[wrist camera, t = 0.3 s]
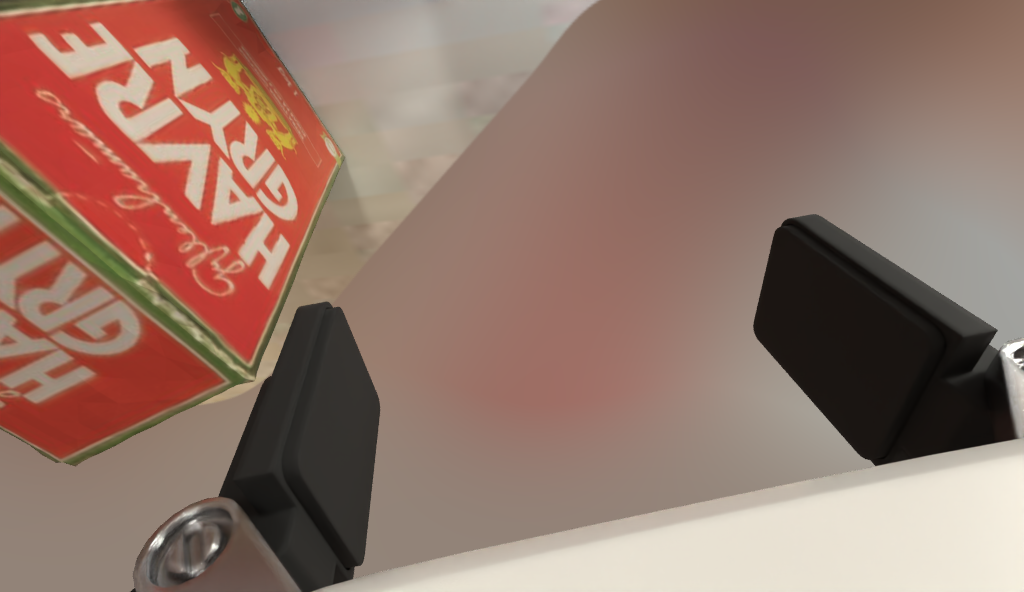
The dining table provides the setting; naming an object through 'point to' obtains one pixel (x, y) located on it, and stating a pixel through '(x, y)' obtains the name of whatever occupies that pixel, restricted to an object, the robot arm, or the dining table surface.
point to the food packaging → (143, 211)
